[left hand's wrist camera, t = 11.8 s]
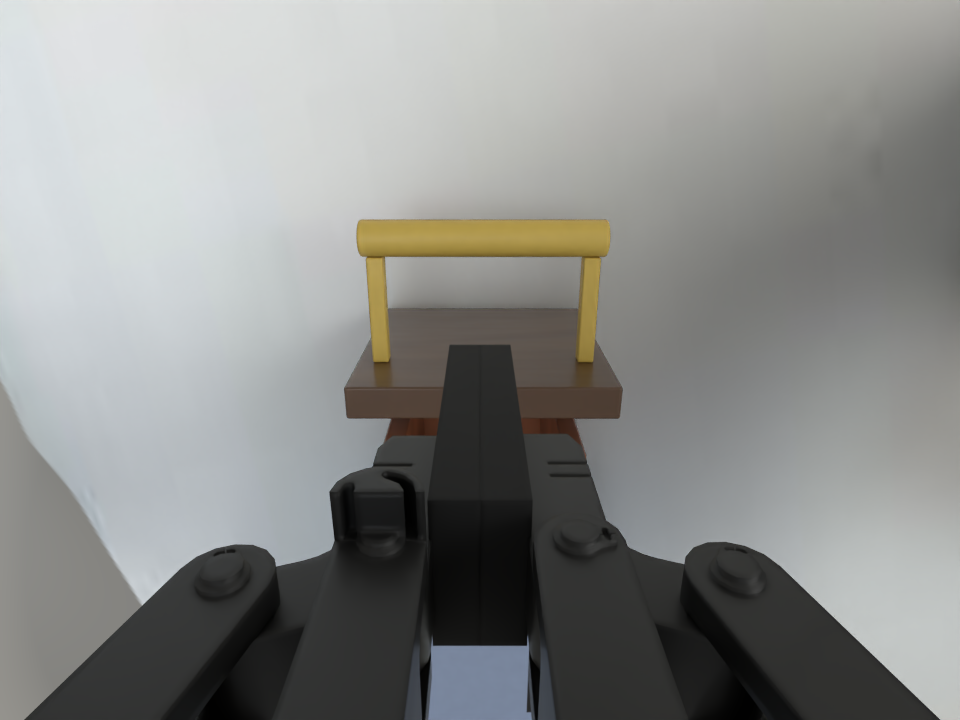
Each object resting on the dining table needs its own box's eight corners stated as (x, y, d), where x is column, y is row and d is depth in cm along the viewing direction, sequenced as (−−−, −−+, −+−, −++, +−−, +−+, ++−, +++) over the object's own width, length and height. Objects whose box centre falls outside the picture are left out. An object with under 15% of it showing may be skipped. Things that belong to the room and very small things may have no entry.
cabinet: (387, 452, 33) (340, 611, 22) (576, 452, 33) (625, 612, 22) (402, 689, 40) (372, 903, 29) (560, 690, 40) (591, 903, 29)
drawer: (379, 198, 27) (329, 231, 18) (585, 198, 27) (638, 231, 18) (402, 581, 35) (375, 737, 26) (561, 581, 35) (589, 737, 26)
